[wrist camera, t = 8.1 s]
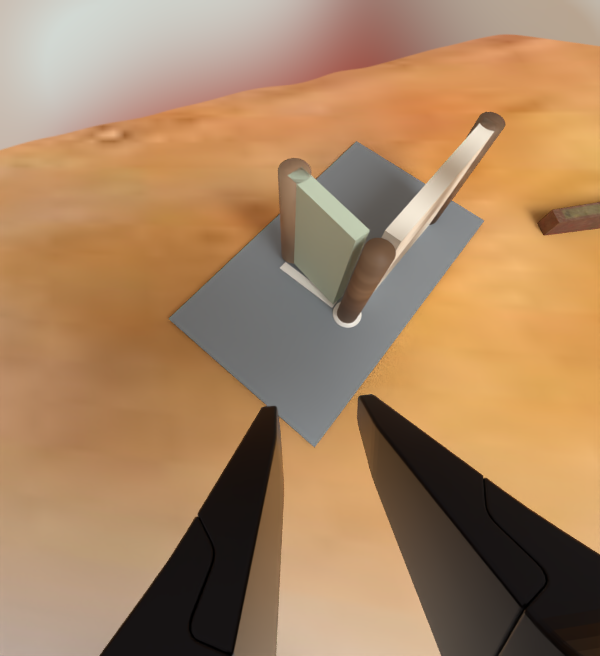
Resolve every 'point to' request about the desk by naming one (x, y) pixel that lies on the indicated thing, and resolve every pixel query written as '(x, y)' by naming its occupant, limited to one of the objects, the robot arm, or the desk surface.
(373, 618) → the desk surface
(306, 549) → the desk surface
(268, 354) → the card
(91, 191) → the desk surface
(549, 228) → the miniature gate
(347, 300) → the fence section
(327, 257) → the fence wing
